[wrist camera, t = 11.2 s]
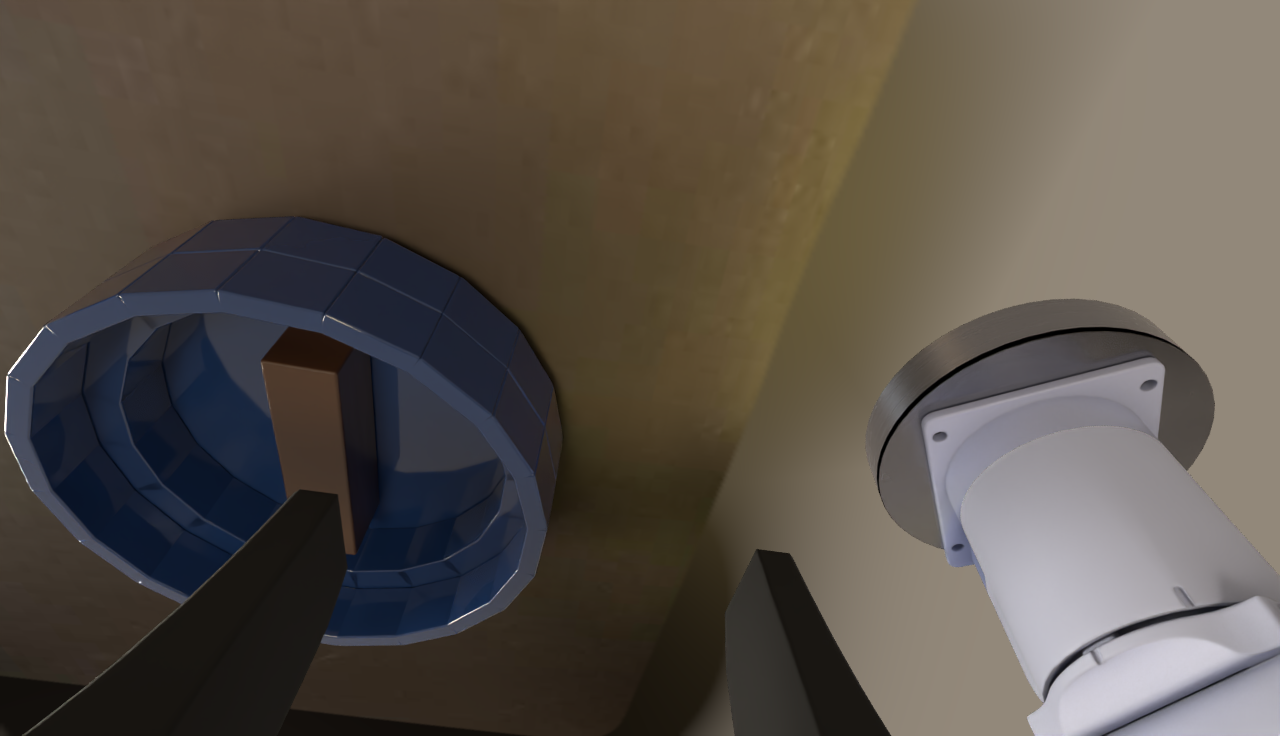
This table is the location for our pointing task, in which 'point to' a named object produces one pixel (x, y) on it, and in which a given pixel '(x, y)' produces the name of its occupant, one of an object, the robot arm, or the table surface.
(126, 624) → the table surface
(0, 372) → the table surface
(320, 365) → the brown rectangular bar
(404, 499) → the bowl
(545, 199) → the table surface
